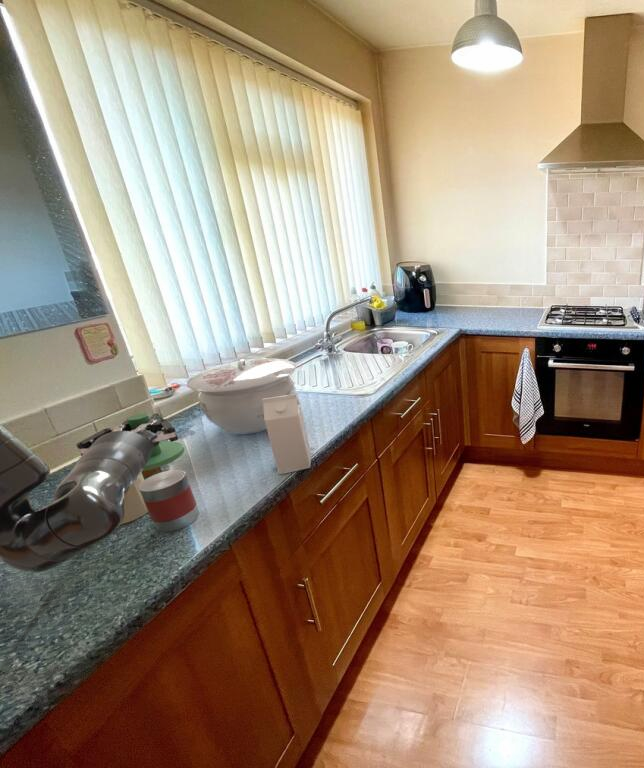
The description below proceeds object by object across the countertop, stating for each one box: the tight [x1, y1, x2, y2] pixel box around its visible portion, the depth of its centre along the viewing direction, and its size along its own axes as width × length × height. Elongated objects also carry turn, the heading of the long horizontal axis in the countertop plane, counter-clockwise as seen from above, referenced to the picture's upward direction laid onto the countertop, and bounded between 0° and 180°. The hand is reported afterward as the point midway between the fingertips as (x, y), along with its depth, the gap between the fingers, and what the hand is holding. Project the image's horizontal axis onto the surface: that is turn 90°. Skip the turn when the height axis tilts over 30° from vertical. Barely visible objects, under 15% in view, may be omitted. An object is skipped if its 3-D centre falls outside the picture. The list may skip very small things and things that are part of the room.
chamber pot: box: [186, 357, 297, 435], centre depth 120 cm, size 28×28×21 cm
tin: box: [139, 469, 200, 533], centre depth 82 cm, size 7×7×10 cm
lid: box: [126, 412, 185, 471], centre depth 76 cm, size 10×10×9 cm
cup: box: [120, 473, 149, 525], centre depth 84 cm, size 8×8×9 cm
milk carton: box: [262, 393, 312, 475], centre depth 99 cm, size 7×7×19 cm
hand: (145, 419), depth 78 cm, fingers closed on lid, 3 cm apart
